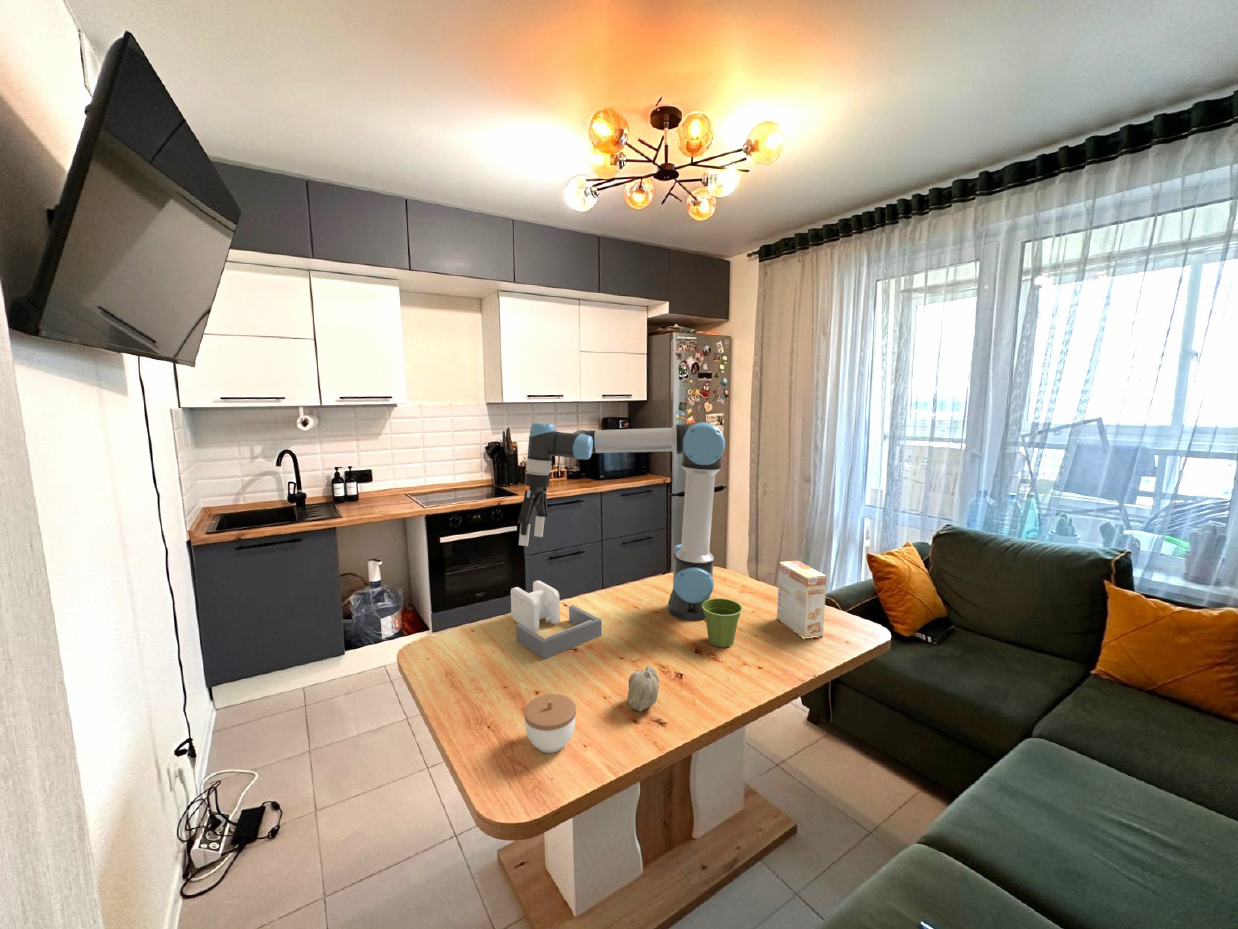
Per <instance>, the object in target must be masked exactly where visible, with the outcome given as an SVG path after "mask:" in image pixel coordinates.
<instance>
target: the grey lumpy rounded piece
mask: <svg viewBox="0 0 1238 929" xmlns="http://www.w3.org/2000/svg"><path fill="white" fill-rule="evenodd" d="M659 679H660V678H659V676H658V674H657V671H656V670H655V669H654V668H652V666H650V665H647V666H646V667H645V669H643V670H641V669H640V670H636V671H635V672H633V673H632V674H631V675H630V676H629V678H628V691H627V703H628V706H630V708H631V709H632V710H636V711H638V712H642V711H644V710H646V709H648V708H650V707H652V706H653V705H654V704H656V702H657V699H658V694H659V688H660V687H659V682H660V680H659Z"/></svg>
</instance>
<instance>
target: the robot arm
mask: <svg viewBox="0 0 1238 929" xmlns="http://www.w3.org/2000/svg"><path fill="white" fill-rule="evenodd" d="M725 440H726V439H725V436H724V434H723V432H722V431H721V430H720V428H718V426H716V425H715V424H713V423H710V422H709V421H704V420H703V421H702V420H700V421H695V422H690V423H689V422H688V423H682V424H681V423H680V424H674V425H673V426H672V427H659V428H658V427H656V428H653V427H651V428H626V429H624V428H623V429H622V428H621V429H598V430H596V429H595V430H592V429H591V430H585V429H581V430H580V429H578V430H576V431H574V432H562V431H557V430H556V425H554V424H551V423H550V424H548V423H543V422H542V423H541V422H533V423H531V424H530V431H529V436H528V446H527V456H526V461H525V462H524V463H525V465H526V466H525V467H526V468H525V470H526V471H527V472H526V473H525V475H524V478H525V479H524V485H525V486H528V487H529V489H528V490H527V489H526V490H525V491H524V495H523V501H522V504H521V508H520V512H519V516H518V519H517V524H520V526H519V538H518V546H524V547H529V541H530V540H529V539H530V533H531V532H530V531H531V530H530V529H531V524H530V522H531V518H532V516H533V514H534V510H536V516H535V520H534V522H535V523H534V534H533V537H537V538H543V537H544V529H545V528H544V526H545V519H546V518H547V517H548V516H549V515H548V498H547V497H548V496H547V490H548V488H549V486H550V479H551V475H550V474H551V471H552V462H553V461H552V458H553V456H554V457H561V458H569V459H577V460H590V458H591V457H592V454H601V453H602V454H604V453H605V454H606V453H611V454H613V453H650V452H651V453H652V452H673V453H674V455H682V457H681V459H682V460H681V468H682V469H683V470H684V472H685V473H686V474H685V486H684V499H683V500H684V502H683V516H682V517H683V518H682V527H681V528H682V532H681V543H679V544H676V545H675V546H674V548H673V553H672V555H673V570H672V571H673V573H672V574H673V576H672V577H673V578H672V579H673V580H672V583H673V584H672V586H673V588H672V590H671V593H670V596H669V600H668V602H667V612H668V614H670V616H673V617H674V618H677V619H680V620H685V621H702V620H706V617H705V614H704V610H703V608H702V603H703V602H704V601H705V600H708V599H711V597H710V596H711V595H712V593H713V591H714V587H715V586H714V585H715V581H714V578H713V575H714V574H713V572H714V561H715V560H714V558H715V556H714V555H713V554H712V553H711V551H710V545H711V533H712V521H713V507H714V494H715V482H716V481H715V480H716V475H717V473H719V472H720V471H721V470H722V462H723V460H722V459H723V457H722V456H723V454H724V452H725V451H724V450H725V447H726V441H725Z"/></svg>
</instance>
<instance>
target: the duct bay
mask: <svg viewBox="0 0 1238 929" xmlns="http://www.w3.org/2000/svg"><path fill="white" fill-rule="evenodd" d="M568 622H571V623H572V624H574V626H572V627H569V628H566V629H563V630H561V631H558V632H556V633H553V634H551V635H548V636H546V638H544V637H543V636H541V635H539V634H538V633H536V632H533V631H532V630H530V629H529V628H527V627H525V626H524V625H522V624H521V623H520V624H519V623H517V624H515V634H516V635H515V636H516V638H515V640H516V642H518V641H519V642H520V643H519V642H518V643H519V644H521V645H522V646H523V645H524V646H523V647H525V648H526V649H528V650H529V651H530V652H532V653H533V654H535V655H537V656H538V657H539V658H540V659H542V660H546V659H548V658H550V657H554V656H556V655H558V654H560V653H563V652H566V651H568V650H570V649H573V648H574V647H577V646H580V645H582V644H583V643H586V642H589V641H592V640H595V639H596V638H598V637H600V636H603V635H602V631H603V630H602V619H601V618H600V617H597V616H595V615H593V614H591V613H589V612H587V611H585V610H583V609H581V608H579V607H578V606H575V605H574V604H572V605H569V606H568Z"/></svg>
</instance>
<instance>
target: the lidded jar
mask: <svg viewBox="0 0 1238 929" xmlns="http://www.w3.org/2000/svg"><path fill="white" fill-rule="evenodd" d="M523 713H524V714H523V716H524V726H525V731H526V735H527V738H528V740H529V741H530V743H531V744H532V746H534V747H535V748H536V749H537V750H539V751H540V752H542V753H546V754H552V753H556V752H559V751H561V750H562V749H563V748H564V747H565V746H566V745H567V744H568V742H569V741H570V740H571V739H572V736H573V734H574V730H575V727H576V714H577V706H576V703H575V702H574V700H573V699H572V698H570V697H569V696H566V695H564V694H560V693H559V694H558V693H548V694H543V695H540V696H537V697H535V698H533V699H531V700H530V701H529V702H528V703H527V705H526V706H525V707H524V712H523Z"/></svg>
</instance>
